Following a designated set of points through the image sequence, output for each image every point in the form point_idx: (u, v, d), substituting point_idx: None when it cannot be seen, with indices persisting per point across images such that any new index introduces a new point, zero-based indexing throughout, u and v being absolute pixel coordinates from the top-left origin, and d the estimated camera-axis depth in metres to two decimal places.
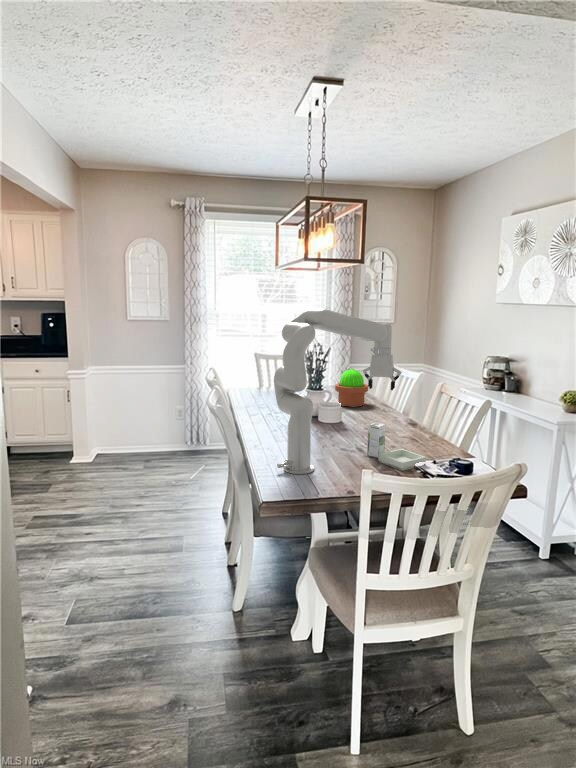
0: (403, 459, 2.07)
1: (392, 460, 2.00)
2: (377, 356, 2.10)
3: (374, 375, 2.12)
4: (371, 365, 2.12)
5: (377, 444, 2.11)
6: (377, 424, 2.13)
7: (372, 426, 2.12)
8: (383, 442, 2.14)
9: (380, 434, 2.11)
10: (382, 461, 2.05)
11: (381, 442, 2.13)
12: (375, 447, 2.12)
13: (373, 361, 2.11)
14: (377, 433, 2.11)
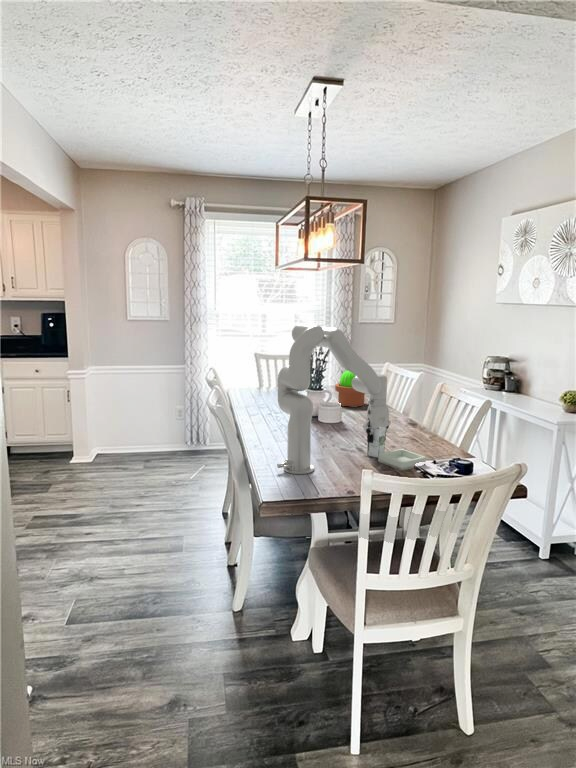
0: (403, 459, 2.07)
1: (392, 460, 2.00)
2: (379, 408, 2.09)
3: (376, 427, 2.10)
4: (374, 418, 2.08)
5: (377, 444, 2.11)
6: None
7: None
8: (383, 442, 2.14)
9: (380, 434, 2.11)
10: (382, 461, 2.05)
11: (381, 442, 2.13)
12: (375, 447, 2.12)
13: (376, 414, 2.08)
14: (377, 433, 2.11)
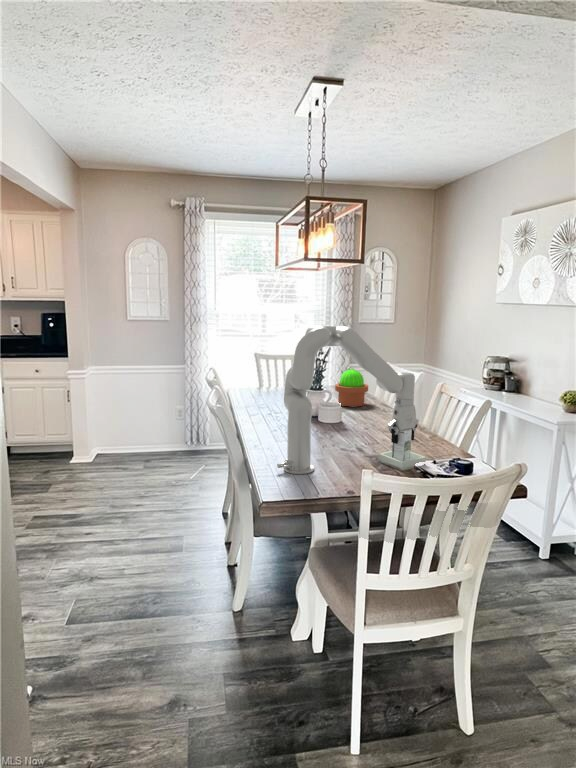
0: None
1: (392, 460, 2.00)
2: (406, 408, 1.98)
3: (403, 428, 1.99)
4: (401, 418, 1.97)
5: (402, 450, 2.00)
6: None
7: None
8: (409, 447, 2.03)
9: (406, 439, 2.00)
10: (382, 461, 2.05)
11: (407, 447, 2.02)
12: (400, 452, 2.01)
13: (403, 414, 1.97)
14: (402, 437, 2.00)
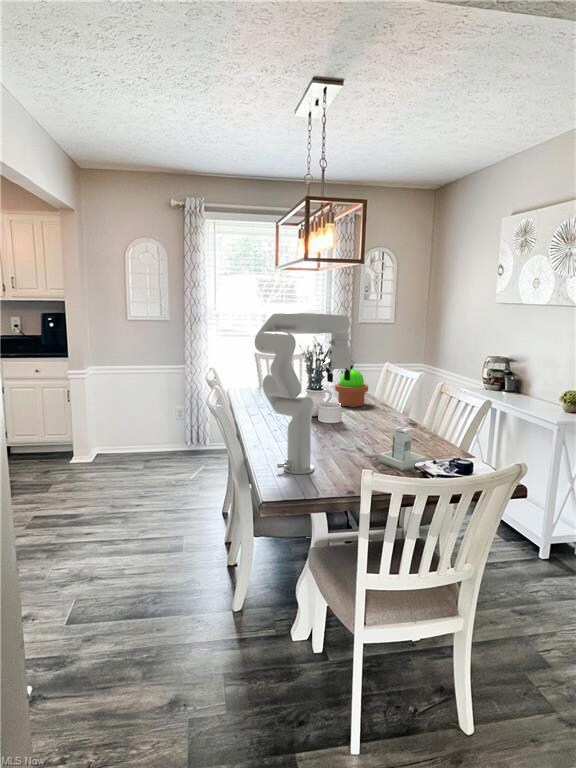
0: None
1: (392, 460, 2.00)
2: (340, 348, 2.09)
3: (338, 367, 2.10)
4: (335, 358, 2.08)
5: (402, 450, 2.00)
6: (403, 428, 2.02)
7: (397, 430, 2.01)
8: (409, 447, 2.03)
9: (406, 439, 2.00)
10: (382, 461, 2.05)
11: (407, 447, 2.02)
12: (400, 452, 2.01)
13: (337, 353, 2.09)
14: (402, 438, 2.00)
